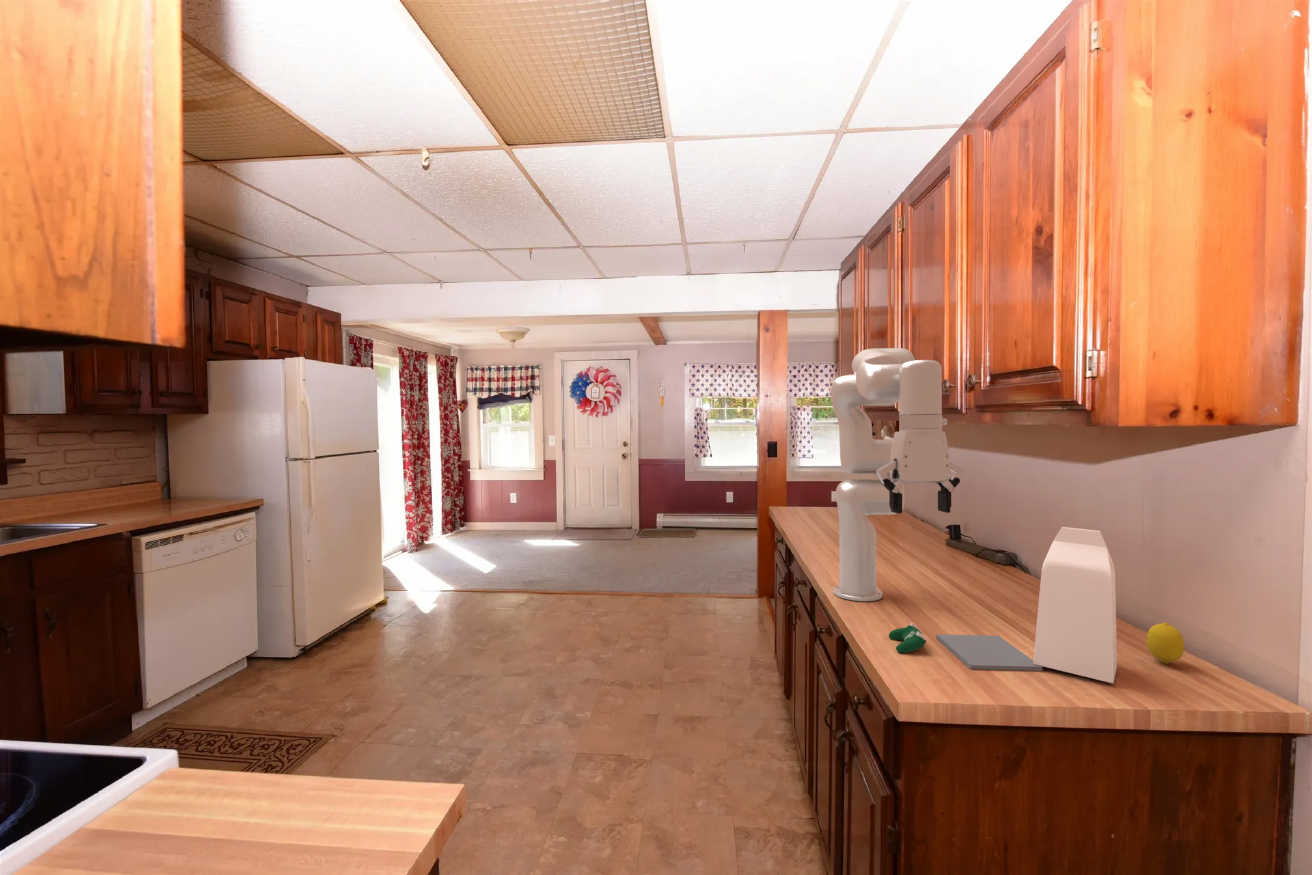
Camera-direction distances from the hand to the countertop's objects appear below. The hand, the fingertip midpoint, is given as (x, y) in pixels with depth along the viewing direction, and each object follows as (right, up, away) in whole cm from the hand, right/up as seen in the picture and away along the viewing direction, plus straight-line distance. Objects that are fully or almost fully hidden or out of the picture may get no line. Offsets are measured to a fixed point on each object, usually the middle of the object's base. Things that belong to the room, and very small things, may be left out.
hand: (920, 512), depth 112 cm
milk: (+29, -29, -2) cm, 41 cm away
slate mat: (+15, -29, +5) cm, 34 cm away
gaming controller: (+1, -30, +9) cm, 31 cm away
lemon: (+47, -30, -1) cm, 56 cm away
